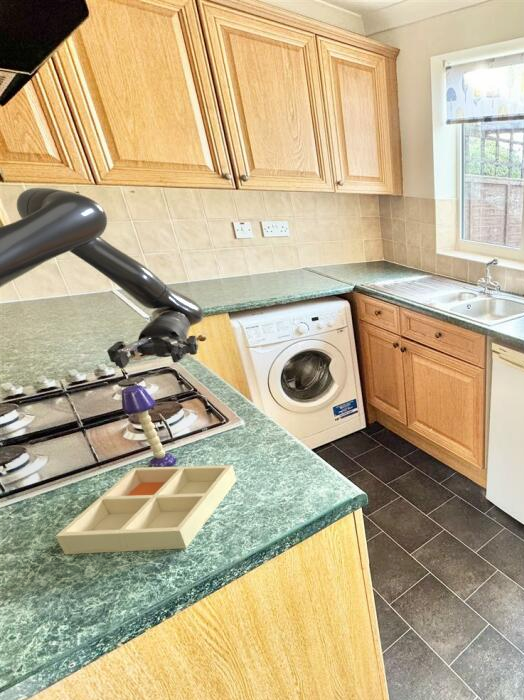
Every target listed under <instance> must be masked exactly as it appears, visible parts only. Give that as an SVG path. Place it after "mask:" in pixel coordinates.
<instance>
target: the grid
mask: <svg viewBox="0 0 524 700" xmlns="http://www.w3.org/2000/svg"><path fill="white" fill-rule="evenodd" d="M236 482H238V481H237V476H236V473H235V470H234V465H233V464H228V465H227V464H224V465H222V464H221V465H187V466H186V465H185V466H172V467H149V466H148V467H147V466H145V467H143V466H142V467H133V468H132V469H130V470H129V471H128V472H127V473H126V474H125V475H123V476H122V477H121V478H120V479H119V480H117V482H116V483H114V485H112V486H111V487H110V488H108V490H107V491H105V492H104V493H103V494H102V495H101V496H100V497H98V498H97V499H96V500H95V501H94V502H93V503H91V504H90V505H89V506H88V507H87V508H86V509H85V510H83V511H82V512H81V513H80V514H79V515H77V516H76V517H75V518H74V519H73V520H72V521H70V523H69V524H67V525H66V526H65V527H64V528H62V529H61V531H60V532H58V533H57V534H56V535H55V539H56V540H57V542H58V544H59V546H60V548H61V550H62V551H63V553H64V555H76V554H80V555H81V554H98V553H99V554H101V553H117V552H118V553H120V552H121V553H122V552H139V551H141V552H142V551H143V552H144V551H160V550H161V551H162V550H181V549H182V550H183V549H184V550H185V549H188V547H189V546H190V544H191V543H192V541H193V540H194V539H195V538H196V536H197V535H198V534H199V532H200V531H201V529H202V528H203V527H204V525H205V524H206V523H207V521H209V519H210V517H211V516H212V515H213V513H214V512H215V511H216V509H217V508H218V506H219V505H221V502H222V501H223V500H224V499H225V497H226V496H227V495H228V493H229V492H230V491H231V489H232V488H233V487H234V485H235V484H236Z"/></svg>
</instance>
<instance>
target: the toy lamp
mask: <svg viewBox="0 0 524 700" xmlns="http://www.w3.org/2000/svg"><path fill="white" fill-rule="evenodd" d="M156 405H157V403H156V401H155V399H154V398H153V397H152V395H151V394H150V392H148V391H147V389H146V388H145V387H144V386H143V385H139V384H135V385H130V386H127V387H125V388H123V389H122V390H121V408H122V411H123V413H124V414H127V415H128V414H129V415H133V414H134V415H136V416H137V419H138V422H139V424H140V426H141V429H142V431H143V434H144V436H145V438H146V441H147V443H148V444H149V448H150V449H151V451H152V454H153V457H152V458H151V459H150V461H149V463H148V467H174V465H176V463H177V461H178V460H177V458H176V457H175V455H172V454H170V453H166V451H165V450H164V449H163V447H164V446H163V444H162V443H161V442H160V441H161V440H160V437H159V436H158V432H157V430H156V429H155V425H154V423H153V422H152V416H151V415H149V410H151V409H153V408H155V407H156Z"/></svg>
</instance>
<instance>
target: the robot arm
mask: <svg viewBox="0 0 524 700" xmlns="http://www.w3.org/2000/svg"><path fill="white" fill-rule="evenodd" d="M16 210H17V212H18V215H19V216H20V218H21V219H18V220H16V221H14V222H11V223H9V224H5V225H2V226H1V225H0V288H2V287H4V286H5V285H8V284H9V283H11V282H12V281H14V280H16V279H18V278H20V277H22V276H23V275H25V274H27V273H29V272H31V271H32V270H34V269H35V268H37V267H38V266H41V265H42V264H44V263H45V262H48V261H50V260H52V259H55V258H57V257H58V256H59V257H60V256H61V255H63V254H66V253H68V252H70V253H72V255H74V256H76V257H78V258H79V259H81V260H82V261H84V262H85V263H87V265H89V266H91V267H93V268H94V269H95V270H96V271H98V272H100V274H102V275H103V276H104V277H106V278H107V279H109V280H110V281H112V282H113V283H114V284H115V285H117V286H118V288H120V289H121V290H123V291H124V292H125V293H127V294H128V295H129V296H130V297H132V298H133V299H134V300H135V301H136V302H138V304H140V305H141V306H143V307H144V308H147V309H151V310H153V311H152V312H151V320H150V321H149V322H148V323H147V325H145V327H144V328H143V329H142V330H141V331H140V333H139V335H138V337H137V338H138V339H137V340H135V341H134V342H131V343H128V344H125V342H124V341H123V340H121V341H120V340H118V341H116V342H115V343H114V344H113V345H112V346H111V347H109V348H108V349H106V352H107V355H108V358H109V360H110V362H111V363H114V365H115V366H116V367H118V368H119V369H123V368H124V369H125V368H126V367H127V365H128V364H129V363H130V361H135V360H136V361H140V360H144V359H146V358H149V357H151V358H152V357H158V358H169V357H171V360H172V363H179V362H180V361H181V360H183V358H185V357H186V356H187V354H189V355H191V356H194V355H195V356H196V355H197V353H198V350H199V343H198V340H197V337H196V335H189V336H188V333H189V332H190V329H191V327H193V326H195V325H197V324H199V323H201V322H202V321H203V319H204V316H205V315H204V311H203V308H202V307H201V305H199V304H198V303H197V302H196V301H195V300H193V299H192V298H190V297H188V296H186V295H185V294H182V293H180V292H178V291H177V290H175V289H173V288H171V287H169V286H168V285H167V284H165V282H164V281H162V280H161V278H159V276H158V275H156V274H155V273H154V272H152V270H150V269H149V268H148V267H146V266H145V265H144V264H142V263H140V262H139V261H138V260H136V259H134V258H132V257H131V256H129V255H128V254H126V253H125V252H123V251H121V250H120V249H118V248H117V247H115V246H114V245H112V244H110V243H109V242H107V240H105V239H104V238H102V237H101V236H102V235H103V234H104V233H105V230H106V228H107V224H108V218H107V213H106V212H105V209H104V208H103V207H102V206H101V205H100V204H99V203H98V202H97V201H95V200H94V199H92V198H90V197H88V196H85V195H83V194H80V193H76V192H72V191H68V190H61V189H56V188H49V187H32V188H28V189H26V190H24V191H22V192H21V193H20V194H19V195H18V197H17V200H16ZM129 354H130V355H129Z"/></svg>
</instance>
